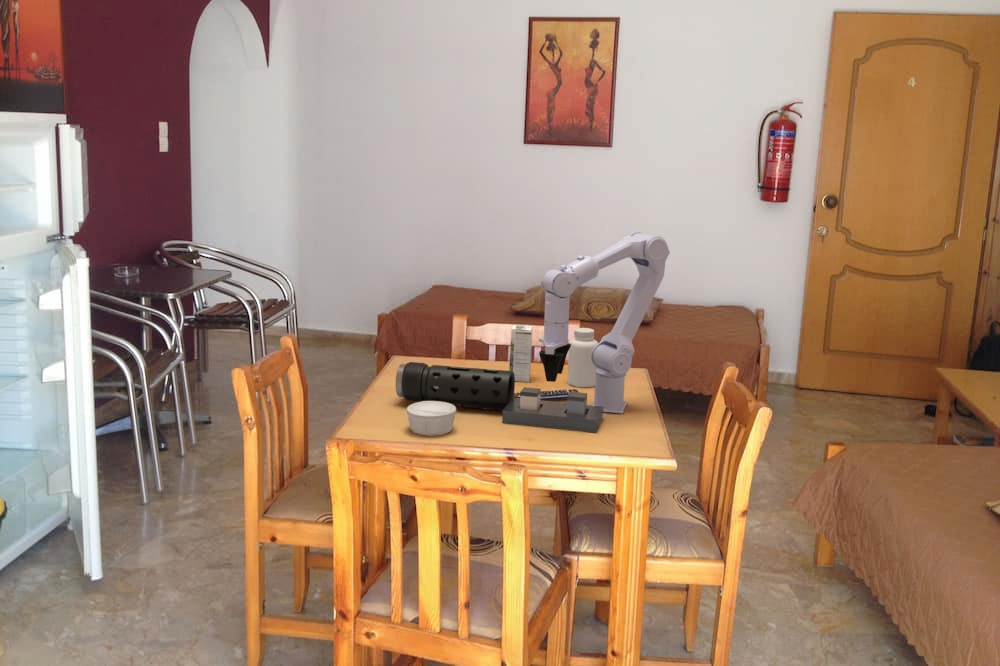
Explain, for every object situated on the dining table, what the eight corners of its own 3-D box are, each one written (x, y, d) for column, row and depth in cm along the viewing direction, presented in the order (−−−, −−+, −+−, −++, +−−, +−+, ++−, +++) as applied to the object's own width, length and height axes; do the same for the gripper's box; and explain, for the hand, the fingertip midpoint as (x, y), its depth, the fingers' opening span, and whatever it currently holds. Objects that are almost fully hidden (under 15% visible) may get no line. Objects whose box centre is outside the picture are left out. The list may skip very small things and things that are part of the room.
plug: (523, 415, 227) (524, 387, 225) (539, 416, 226) (540, 388, 224) (519, 420, 223) (520, 391, 222) (536, 421, 222) (537, 393, 221)
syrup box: (509, 376, 262) (511, 324, 258) (530, 376, 261) (532, 325, 258) (508, 381, 256) (510, 329, 253) (530, 382, 256) (532, 329, 253)
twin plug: (569, 420, 224) (570, 391, 223) (586, 421, 223) (587, 393, 222) (566, 425, 220) (567, 396, 219) (583, 426, 220) (584, 397, 218)
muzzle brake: (506, 417, 225) (508, 375, 223) (394, 407, 231) (394, 366, 229) (514, 406, 235) (515, 365, 232) (405, 396, 240) (406, 357, 238)
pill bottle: (564, 386, 253) (566, 331, 250) (571, 378, 260) (573, 325, 257) (593, 389, 251) (596, 334, 247) (599, 381, 258) (602, 328, 255)
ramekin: (411, 439, 208) (411, 416, 207) (402, 424, 218) (402, 402, 217) (461, 436, 211) (461, 413, 210) (449, 421, 221) (450, 399, 220)
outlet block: (513, 409, 231) (513, 397, 230) (603, 418, 226) (603, 406, 225) (502, 422, 221) (502, 410, 220) (595, 432, 215) (596, 420, 215)
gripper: (546, 314, 231) (544, 368, 233) (533, 326, 217) (531, 383, 220) (574, 316, 229) (572, 370, 232) (563, 328, 215) (561, 386, 218)
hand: (554, 377), depth 226 cm, fingers open, 7 cm apart
